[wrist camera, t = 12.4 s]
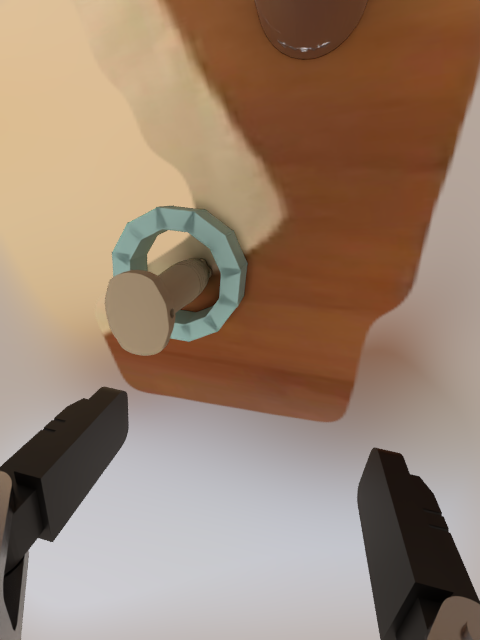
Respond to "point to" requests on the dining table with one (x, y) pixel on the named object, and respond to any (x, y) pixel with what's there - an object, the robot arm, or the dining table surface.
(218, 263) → the notched ring
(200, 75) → the dining table surface
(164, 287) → the handle
